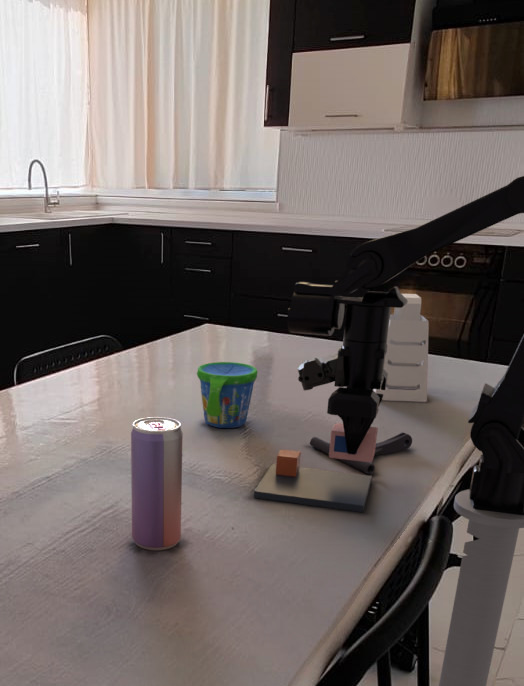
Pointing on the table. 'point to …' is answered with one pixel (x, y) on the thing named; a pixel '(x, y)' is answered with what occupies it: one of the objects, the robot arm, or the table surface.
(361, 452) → the eraser
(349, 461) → the squeegee
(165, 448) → the beverage can
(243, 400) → the snack cup
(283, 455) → the clay cube
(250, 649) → the table surface
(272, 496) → the tray
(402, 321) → the grater
